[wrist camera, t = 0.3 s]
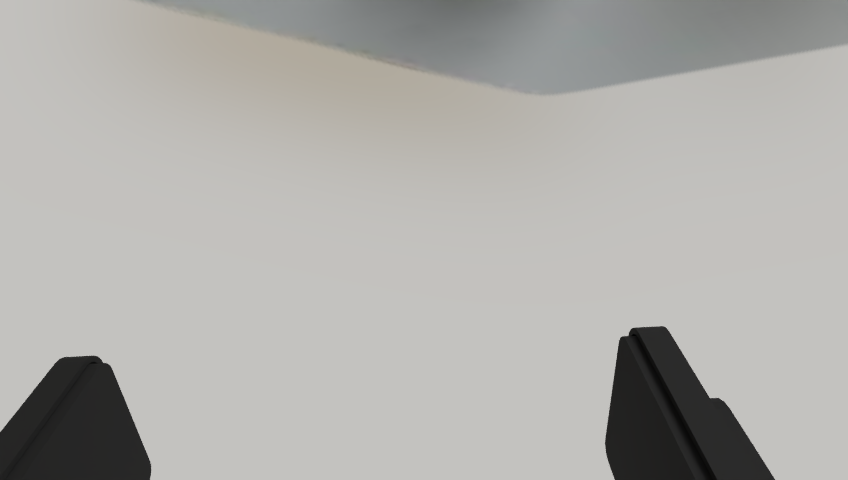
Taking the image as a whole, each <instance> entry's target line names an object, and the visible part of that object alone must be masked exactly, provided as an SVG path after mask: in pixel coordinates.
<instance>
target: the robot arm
mask: <svg viewBox="0 0 848 480" xmlns="http://www.w3.org/2000/svg"><path fill="white" fill-rule="evenodd" d="M605 445H606V453H607V458H608V461H609V464H610V467H611V470H612V473H613V475H614V479H615V480H775V479H774V477H773V476H772V474H771V473H770V471H769V469H768V468H767V467H766V465H765V463H764V462H763V460H762V459H761V457H760V455H759V454H758V452H757V451H756V449H755V447H754V446H753V444H752V443H751V442H750V440H749V438H748V436H747V435H746V434H745V432H744V431H743V429H742V427H741V426H740V424H739V422H738V421H737V419H736V418H735V417H734V415H733V413H732V411H731V410H730V408H729V407H728V406H727V405H726V403H725V402H724V401H722V400H721V399H719V398H709V396H708V395H707V393H706V391H705V390H704V388H703V386H702V385H701V383H700V381H699V380H698V378H697V377H696V375H695V373H694V372H693V370H692V368H691V367H690V365H689V364H688V362H687V360H686V358H685V357H684V355H683V354H682V352H681V350H680V349H679V347H678V345H677V344H676V342H675V341H674V339H673V337H672V336H671V334H670V332H669V331H668V330H667V328H666V327H663V326H660V327H641V328H632V329H631V330H630V332H629V336H624V337H621V338H620V340H619V346H618V353H617V360H616V367H615V375H614V382H613V389H612V396H611V403H610V410H609V417H608V425H607V432H606V440H605ZM150 476H151V464H150V461H149V458H148V455H147V453H146V450H145V448H144V446H143V443H142V441H141V439H140V436H139V434H138V431H137V429H136V427H135V424H134V422H133V419H132V416H131V414H130V412H129V409H128V407H127V404H126V402H125V399H124V397H123V395H122V392H121V390H120V387H119V385H118V382H117V380H116V378H115V375H114V373H113V370H112V368H111V366H110V365H108V364H106V363H103V362H102V360H101V359H100V358H99V357H97V356H82V357H80V356H79V357H64V358H61V359H59V360H58V361H57V362H56V363H55V364H54V366H53V367H52V368H51V369H50V371H49V372H48V373H47V374H46V376H45V377H44V378H43V379H42V381H41V382H40V383H39V384H38V386H37V387H36V388H35V389H34V391H33V392H32V393H31V395H30V396H29V397H28V398H27V400H26V401H25V402H24V403H23V404H22V406H21V407H20V409H19V410H18V411H17V412H16V413H15V415H14V416H13V417H12V418H11V420H10V421H9V422H8V423H7V425H6V426H5V427H4V429H3V430H2V431H1V432H0V480H150Z"/></svg>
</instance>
